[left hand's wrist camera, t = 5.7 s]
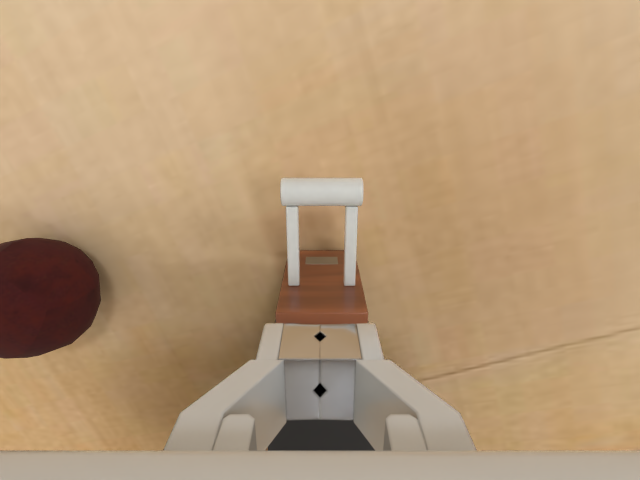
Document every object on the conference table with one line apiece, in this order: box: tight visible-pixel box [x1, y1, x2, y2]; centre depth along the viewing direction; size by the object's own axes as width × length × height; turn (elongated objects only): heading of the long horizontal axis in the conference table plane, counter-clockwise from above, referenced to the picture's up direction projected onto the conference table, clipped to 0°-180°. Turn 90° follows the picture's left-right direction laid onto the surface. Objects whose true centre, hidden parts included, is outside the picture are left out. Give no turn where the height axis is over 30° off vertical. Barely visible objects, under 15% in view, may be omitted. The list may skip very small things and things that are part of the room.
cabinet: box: [268, 320, 375, 451], centre depth 26 cm, size 18×6×10 cm, turn 0°
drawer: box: [276, 178, 368, 325], centre depth 23 cm, size 22×4×8 cm, turn 0°
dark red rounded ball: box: [0, 238, 101, 358], centre depth 23 cm, size 7×8×7 cm
